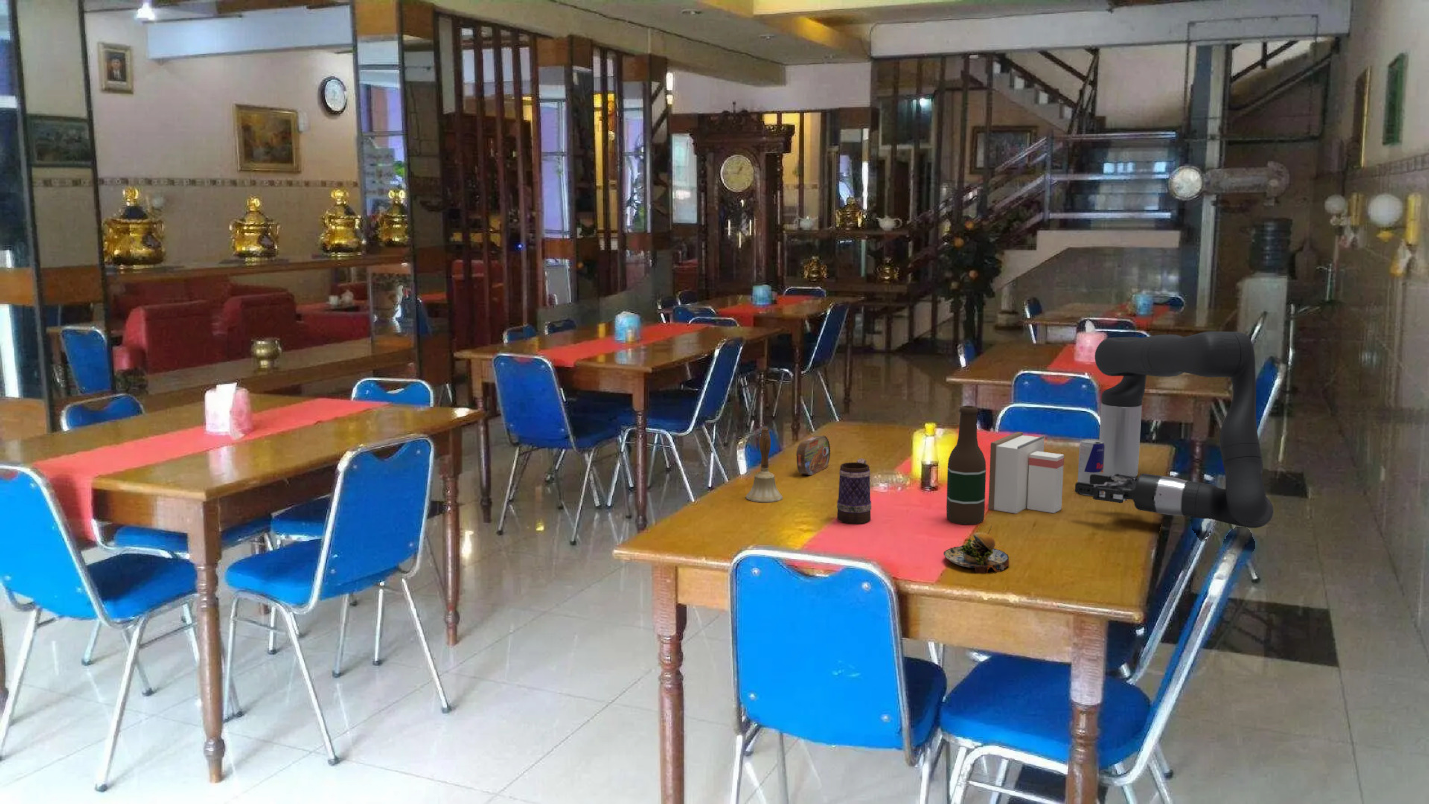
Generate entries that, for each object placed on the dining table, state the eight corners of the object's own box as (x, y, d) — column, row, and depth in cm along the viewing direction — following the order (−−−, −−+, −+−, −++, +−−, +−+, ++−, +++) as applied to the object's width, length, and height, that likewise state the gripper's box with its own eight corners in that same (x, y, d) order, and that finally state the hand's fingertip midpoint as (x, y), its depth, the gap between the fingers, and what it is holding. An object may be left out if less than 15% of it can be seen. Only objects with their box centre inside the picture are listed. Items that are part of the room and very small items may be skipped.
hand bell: (788, 495, 257) (788, 426, 254) (774, 504, 249) (774, 433, 246) (754, 491, 260) (754, 423, 257) (739, 500, 253) (739, 430, 250)
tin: (805, 478, 272) (805, 444, 271) (793, 477, 274) (794, 443, 272) (831, 466, 285) (831, 433, 284) (819, 464, 287) (820, 432, 285)
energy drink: (1103, 496, 254) (1106, 444, 252) (1078, 495, 255) (1081, 443, 253) (1100, 490, 259) (1103, 439, 257) (1075, 489, 260) (1078, 438, 258)
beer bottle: (986, 516, 238) (990, 404, 234) (982, 526, 231) (986, 410, 227) (948, 513, 241) (951, 402, 237) (943, 523, 234) (946, 408, 229)
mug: (864, 526, 232) (866, 469, 230) (832, 522, 235) (832, 465, 233) (879, 513, 241) (880, 458, 239) (848, 510, 244) (848, 455, 242)
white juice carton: (1034, 504, 247) (1036, 451, 245) (1061, 509, 244) (1064, 454, 242) (1026, 508, 244) (1029, 454, 242) (1054, 513, 241) (1057, 458, 238)
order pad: (1015, 495, 255) (1017, 431, 253) (1041, 499, 252) (1044, 435, 249) (988, 509, 244) (990, 442, 242) (1015, 513, 240) (1018, 446, 238)
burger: (946, 552, 215) (947, 514, 214) (1010, 557, 212) (1012, 518, 211) (940, 571, 204) (941, 531, 203) (1007, 577, 201) (1009, 536, 199)
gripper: (1174, 469, 233) (1095, 459, 243) (1153, 483, 222) (1071, 472, 232) (1171, 505, 235) (1093, 493, 244) (1150, 520, 223) (1069, 507, 233)
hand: (1083, 483), depth 238 cm, fingers open, 8 cm apart
